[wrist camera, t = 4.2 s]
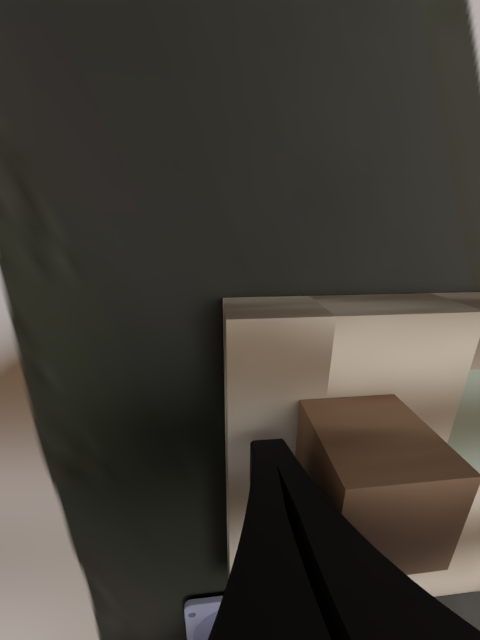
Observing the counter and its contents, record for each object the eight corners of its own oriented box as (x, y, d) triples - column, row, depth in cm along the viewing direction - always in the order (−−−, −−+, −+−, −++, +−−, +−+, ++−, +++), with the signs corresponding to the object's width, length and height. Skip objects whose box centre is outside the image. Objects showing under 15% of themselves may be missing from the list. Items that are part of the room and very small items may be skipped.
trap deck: (527, 529, 21) (577, 577, 18) (227, 562, 19) (230, 623, 16) (644, 288, 15) (747, 304, 12) (222, 297, 13) (226, 319, 10)
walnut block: (378, 468, 13) (447, 569, 9) (293, 476, 13) (329, 584, 9) (394, 394, 12) (482, 476, 8) (299, 400, 11) (345, 489, 7)
